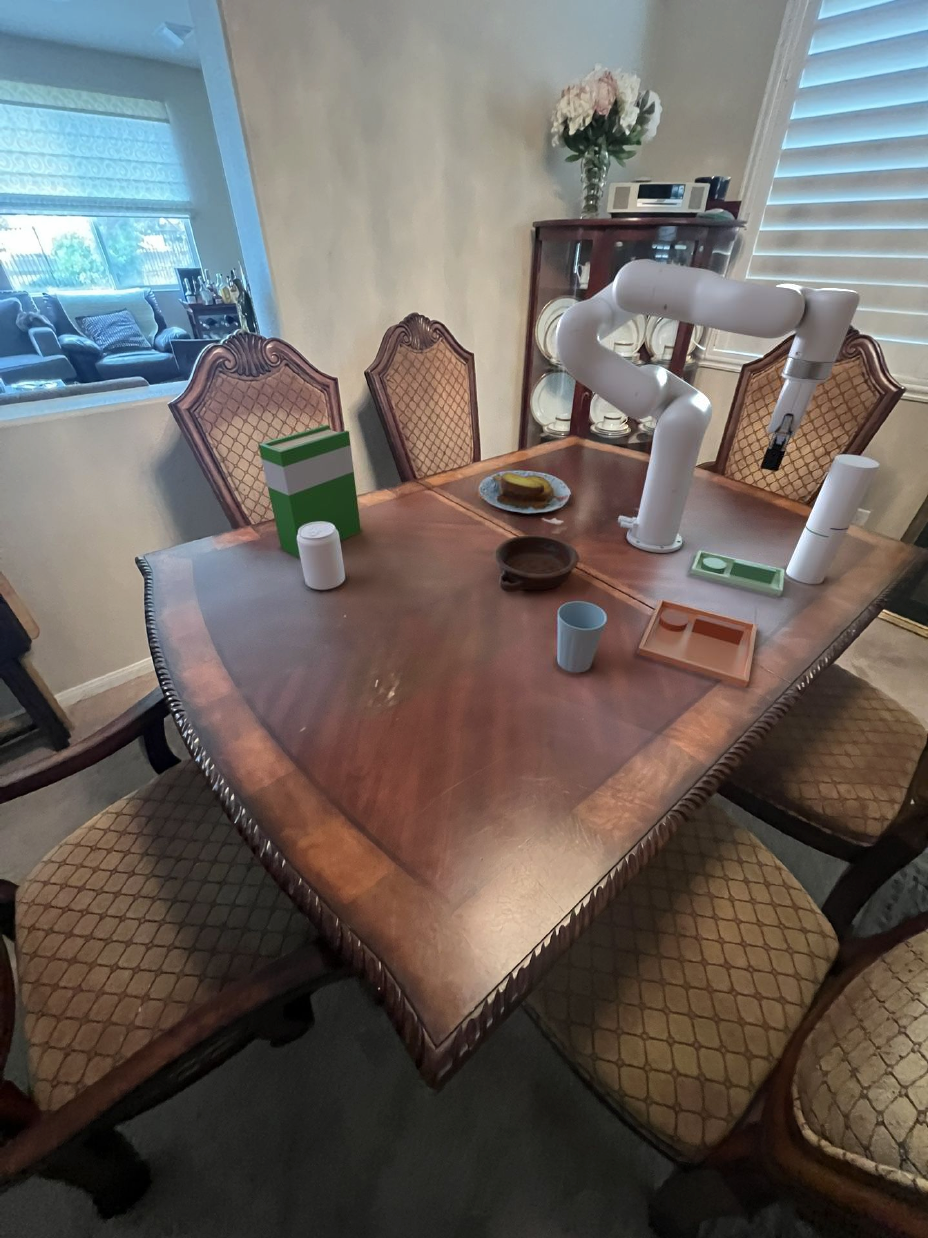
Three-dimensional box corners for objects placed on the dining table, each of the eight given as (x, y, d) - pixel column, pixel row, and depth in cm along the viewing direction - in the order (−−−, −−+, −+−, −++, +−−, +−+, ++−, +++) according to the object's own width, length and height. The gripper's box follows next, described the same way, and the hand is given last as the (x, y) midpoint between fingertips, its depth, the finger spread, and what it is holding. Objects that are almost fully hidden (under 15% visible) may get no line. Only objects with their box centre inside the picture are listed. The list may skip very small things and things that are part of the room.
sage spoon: (699, 570, 113) (703, 558, 111) (702, 560, 117) (706, 548, 115) (770, 587, 108) (775, 575, 106) (771, 577, 111) (777, 564, 110)
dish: (594, 566, 116) (598, 545, 113) (544, 612, 102) (546, 590, 99) (526, 542, 124) (528, 523, 121) (471, 582, 110) (471, 561, 107)
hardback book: (340, 522, 132) (326, 424, 118) (360, 531, 129) (349, 431, 114) (281, 548, 121) (258, 444, 107) (301, 559, 117) (280, 452, 103)
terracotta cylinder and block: (656, 626, 97) (660, 613, 95) (661, 613, 100) (665, 600, 99) (737, 650, 92) (743, 636, 90) (740, 635, 95) (746, 622, 93)
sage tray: (689, 576, 113) (691, 568, 112) (696, 557, 119) (698, 549, 118) (779, 598, 106) (782, 590, 105) (781, 577, 113) (784, 569, 112)
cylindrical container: (828, 585, 110) (886, 469, 95) (791, 581, 111) (843, 465, 96) (817, 568, 116) (870, 455, 101) (782, 565, 117) (829, 453, 102)
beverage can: (353, 576, 112) (346, 525, 104) (330, 595, 106) (320, 542, 99) (322, 568, 114) (313, 517, 107) (297, 586, 108) (286, 533, 101)
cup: (589, 685, 85) (599, 634, 79) (544, 671, 88) (551, 620, 82) (601, 658, 91) (612, 609, 85) (559, 645, 93) (566, 596, 87)
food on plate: (573, 485, 153) (576, 463, 149) (566, 522, 133) (569, 498, 129) (487, 476, 157) (488, 455, 153) (468, 511, 138) (468, 488, 134)
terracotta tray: (636, 656, 91) (638, 647, 90) (657, 606, 104) (660, 598, 102) (744, 690, 85) (748, 681, 83) (754, 632, 97) (757, 624, 96)
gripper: (788, 358, 103) (757, 446, 113) (779, 375, 91) (745, 471, 101) (832, 364, 100) (795, 453, 110) (828, 381, 88) (788, 480, 98)
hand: (771, 461), depth 106 cm, fingers open, 9 cm apart
